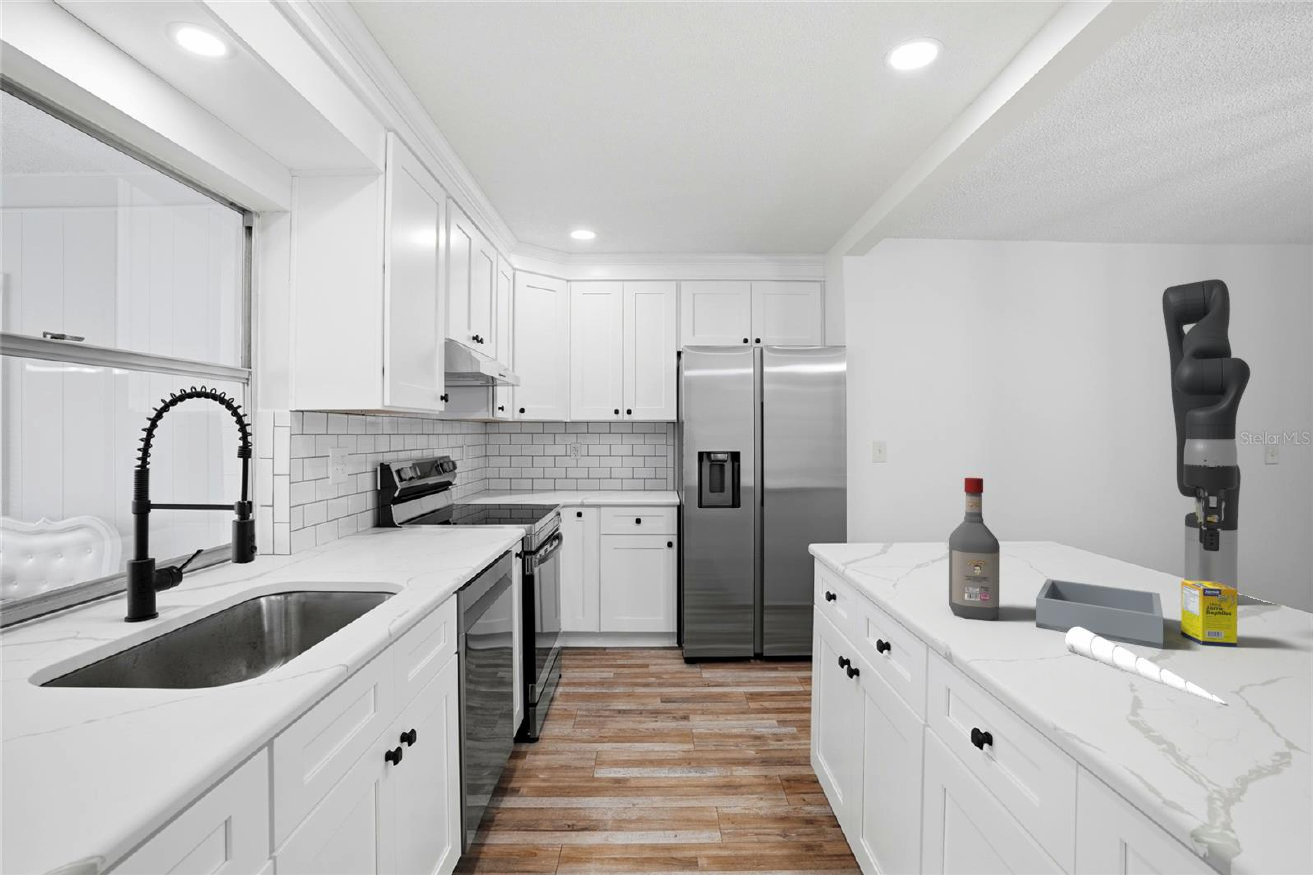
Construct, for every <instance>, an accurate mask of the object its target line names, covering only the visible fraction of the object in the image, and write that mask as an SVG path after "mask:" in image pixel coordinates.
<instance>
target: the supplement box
mask: <svg viewBox="0 0 1313 875" xmlns="http://www.w3.org/2000/svg"><path fill="white" fill-rule="evenodd" d="M1180 588H1181V590H1180V591H1181V592H1180V593H1181V595H1180V596H1181V598H1180V599H1181V601H1180V604H1181V605H1180V606H1181V612H1180V614H1181V616H1180V617H1181V618H1180V619H1181V620H1180V622H1181V623H1180V624H1181V625H1180V634H1181V636H1184V637H1186V638H1188V639H1189V640H1192V641H1194V642H1196V643H1198V644H1200V646H1201V645H1202V646H1215V647H1216V646H1217V647H1218V646H1220V647H1231V648H1236V647H1237V646H1238V588H1237V589H1234V588H1231V587H1228V586H1225V585H1222V584H1220V583H1217V582H1208V581H1186V580H1184V579H1182V580H1181V586H1180Z"/></svg>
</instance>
